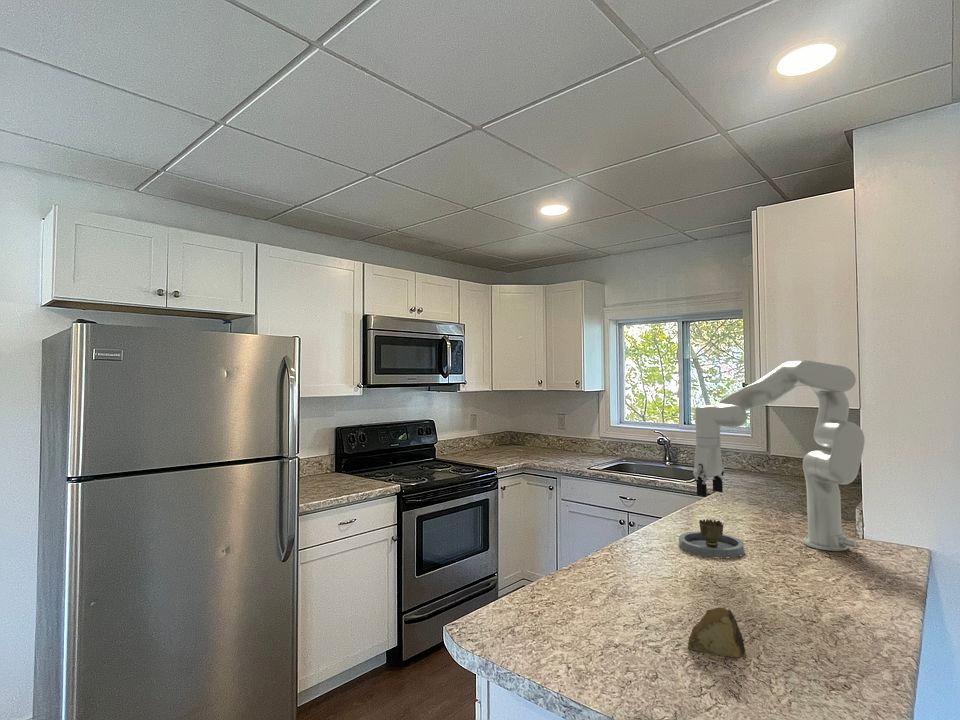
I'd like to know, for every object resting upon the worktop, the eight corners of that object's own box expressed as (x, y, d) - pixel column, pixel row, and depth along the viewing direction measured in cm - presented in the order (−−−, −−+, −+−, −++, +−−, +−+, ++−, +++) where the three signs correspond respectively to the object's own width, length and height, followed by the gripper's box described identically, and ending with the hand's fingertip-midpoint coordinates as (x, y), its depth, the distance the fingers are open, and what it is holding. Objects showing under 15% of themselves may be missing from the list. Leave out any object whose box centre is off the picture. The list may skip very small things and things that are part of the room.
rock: (676, 641, 108) (724, 652, 101) (682, 599, 113) (729, 607, 106) (699, 659, 113) (747, 671, 106) (704, 618, 118) (751, 627, 111)
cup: (726, 550, 170) (726, 525, 170) (702, 548, 172) (702, 524, 172) (720, 543, 177) (720, 519, 178) (697, 541, 179) (697, 518, 179)
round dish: (756, 549, 172) (756, 541, 172) (724, 562, 160) (724, 554, 160) (699, 535, 188) (699, 528, 188) (666, 546, 176) (666, 538, 176)
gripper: (711, 439, 184) (713, 488, 183) (683, 443, 173) (684, 495, 173) (732, 441, 177) (734, 491, 177) (704, 445, 167) (706, 499, 167)
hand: (709, 493), depth 175 cm, fingers open, 9 cm apart
